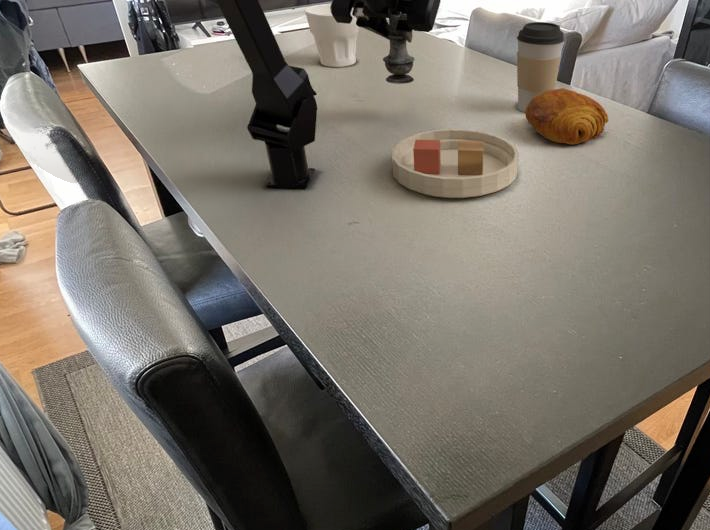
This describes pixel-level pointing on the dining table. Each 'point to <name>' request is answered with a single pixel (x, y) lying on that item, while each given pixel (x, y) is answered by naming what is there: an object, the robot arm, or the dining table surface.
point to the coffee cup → (537, 60)
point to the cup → (332, 36)
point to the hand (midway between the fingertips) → (401, 39)
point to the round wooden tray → (448, 184)
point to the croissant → (566, 116)
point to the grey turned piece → (398, 56)
